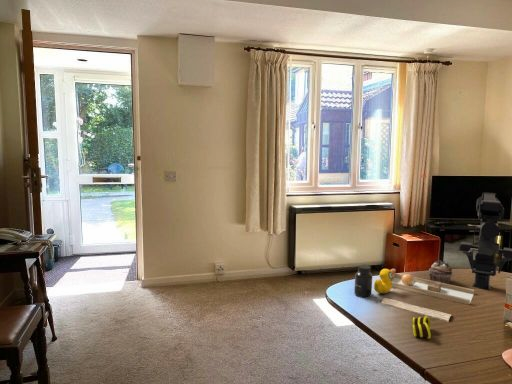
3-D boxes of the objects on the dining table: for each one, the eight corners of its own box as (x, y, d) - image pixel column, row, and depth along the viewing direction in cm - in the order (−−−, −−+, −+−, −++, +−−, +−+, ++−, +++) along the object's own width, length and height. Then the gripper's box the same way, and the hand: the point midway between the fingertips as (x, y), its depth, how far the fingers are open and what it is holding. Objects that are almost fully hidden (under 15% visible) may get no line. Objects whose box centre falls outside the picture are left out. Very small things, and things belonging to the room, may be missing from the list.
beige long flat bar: (381, 305, 142) (381, 301, 142) (387, 299, 147) (387, 295, 147) (448, 323, 127) (448, 319, 127) (452, 316, 133) (452, 312, 133)
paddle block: (431, 280, 159) (441, 282, 156) (430, 287, 159) (440, 289, 157) (427, 285, 152) (438, 288, 150) (427, 292, 153) (437, 295, 150)
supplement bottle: (353, 296, 149) (354, 268, 147) (355, 290, 155) (356, 263, 154) (370, 299, 146) (372, 270, 145) (372, 293, 153) (373, 265, 151)
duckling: (386, 287, 159) (387, 265, 158) (397, 291, 155) (398, 268, 153) (370, 293, 152) (371, 270, 151) (381, 297, 148) (382, 273, 147)
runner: (395, 278, 171) (395, 277, 171) (473, 295, 152) (473, 294, 152) (386, 285, 161) (387, 284, 161) (469, 304, 142) (469, 303, 142)
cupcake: (452, 280, 168) (453, 259, 167) (450, 287, 160) (452, 265, 159) (429, 276, 173) (430, 256, 172) (426, 282, 165) (428, 261, 164)
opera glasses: (414, 327, 125) (412, 313, 125) (431, 328, 123) (429, 313, 122) (413, 340, 116) (411, 325, 116) (431, 341, 114) (429, 326, 114)
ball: (406, 285, 164) (402, 274, 165) (416, 283, 160) (412, 272, 162) (402, 287, 160) (398, 276, 161) (413, 285, 157) (409, 274, 158)
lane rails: (392, 276, 173) (392, 268, 172) (473, 294, 152) (474, 285, 152) (382, 285, 162) (382, 276, 161) (469, 305, 141) (470, 295, 141)
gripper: (458, 232, 143) (455, 271, 145) (516, 240, 132) (512, 281, 134) (462, 228, 152) (460, 264, 154) (517, 234, 141) (513, 273, 143)
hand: (485, 270), depth 146 cm, fingers open, 9 cm apart
